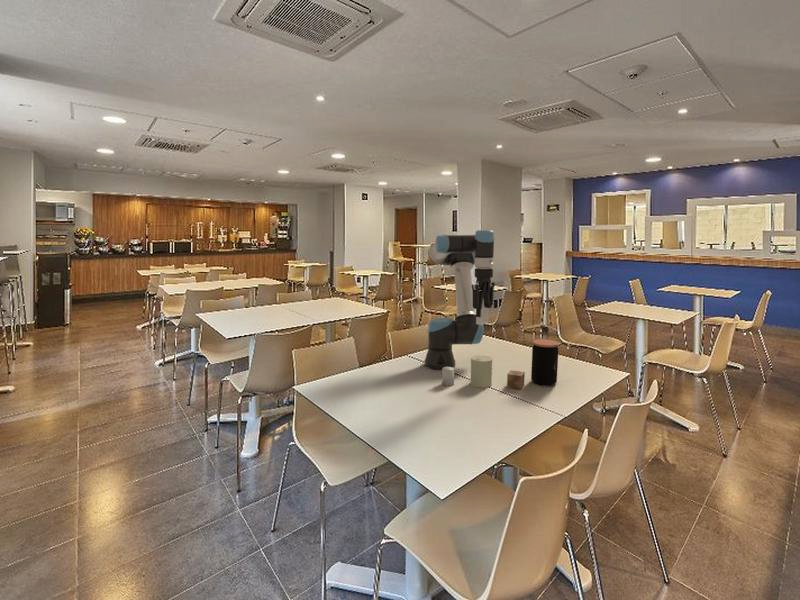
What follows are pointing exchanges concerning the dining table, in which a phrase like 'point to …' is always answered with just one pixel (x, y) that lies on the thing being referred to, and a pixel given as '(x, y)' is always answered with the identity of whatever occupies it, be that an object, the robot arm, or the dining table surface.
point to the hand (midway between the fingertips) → (482, 323)
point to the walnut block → (515, 379)
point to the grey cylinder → (448, 376)
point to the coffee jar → (544, 362)
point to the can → (481, 371)
